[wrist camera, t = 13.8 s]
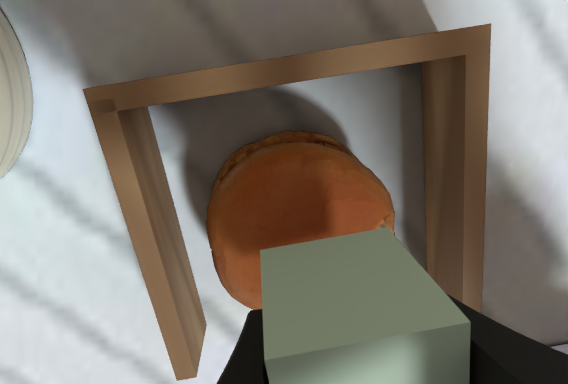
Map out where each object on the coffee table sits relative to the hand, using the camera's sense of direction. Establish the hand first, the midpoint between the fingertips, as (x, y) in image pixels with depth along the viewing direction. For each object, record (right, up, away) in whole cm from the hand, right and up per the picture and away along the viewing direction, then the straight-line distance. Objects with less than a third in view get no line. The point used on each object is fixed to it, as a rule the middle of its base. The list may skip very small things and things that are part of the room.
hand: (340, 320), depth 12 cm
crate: (-1, +4, +8) cm, 9 cm away
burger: (-1, +3, +9) cm, 9 cm away
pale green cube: (0, +1, +1) cm, 1 cm away
